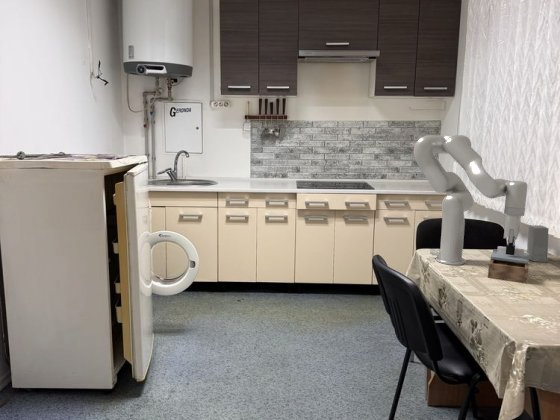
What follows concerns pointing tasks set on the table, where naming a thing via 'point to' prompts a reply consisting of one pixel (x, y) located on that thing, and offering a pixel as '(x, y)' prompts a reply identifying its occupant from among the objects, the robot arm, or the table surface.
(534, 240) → the skincare box
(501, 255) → the cover
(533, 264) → the table surface
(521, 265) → the box
